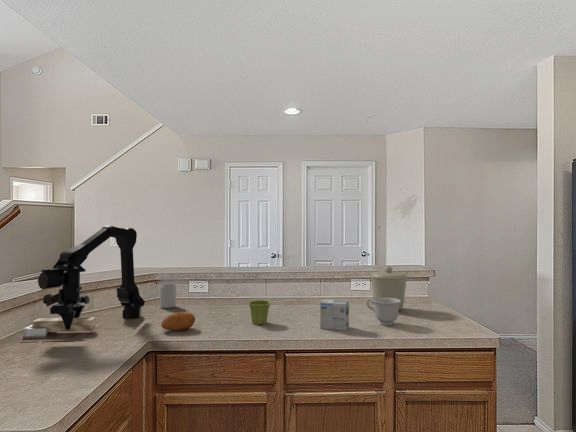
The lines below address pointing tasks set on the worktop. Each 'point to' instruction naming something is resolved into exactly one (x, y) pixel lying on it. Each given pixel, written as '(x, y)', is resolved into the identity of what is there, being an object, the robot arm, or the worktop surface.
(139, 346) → the worktop surface
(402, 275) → the canister
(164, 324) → the potato
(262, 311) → the plant pot
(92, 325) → the rail
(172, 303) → the can
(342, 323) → the light bulb box
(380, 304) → the teacup
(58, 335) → the mounting board
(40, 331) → the cup bracket
